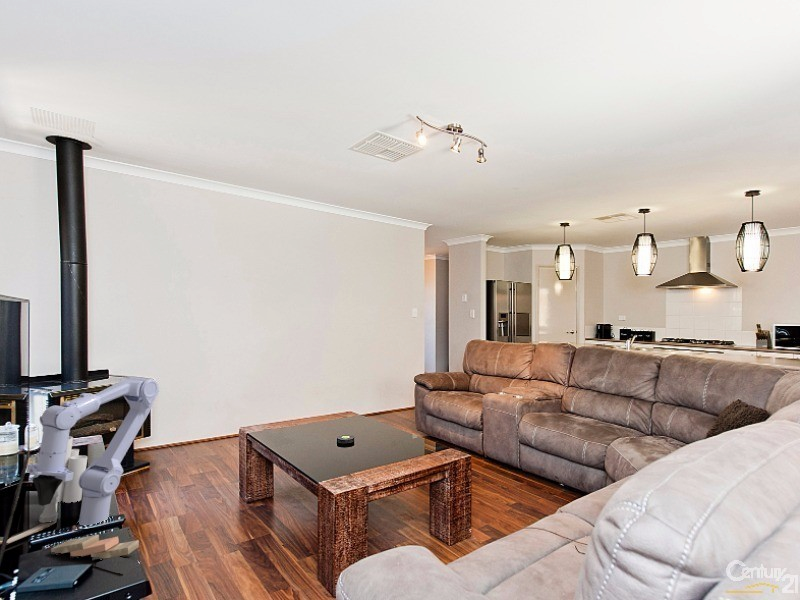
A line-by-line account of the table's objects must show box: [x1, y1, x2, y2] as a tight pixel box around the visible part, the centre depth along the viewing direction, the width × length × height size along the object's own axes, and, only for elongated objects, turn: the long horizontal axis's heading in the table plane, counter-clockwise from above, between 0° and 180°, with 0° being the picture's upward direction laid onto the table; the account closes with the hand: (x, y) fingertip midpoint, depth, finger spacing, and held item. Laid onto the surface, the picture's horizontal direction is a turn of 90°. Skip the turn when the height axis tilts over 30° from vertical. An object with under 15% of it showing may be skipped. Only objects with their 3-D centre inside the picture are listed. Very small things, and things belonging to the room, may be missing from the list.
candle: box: [55, 435, 88, 504], centre depth 148 cm, size 11×7×20 cm, turn 120°
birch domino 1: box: [50, 534, 100, 554], centre depth 116 cm, size 2×5×9 cm
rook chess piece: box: [38, 491, 59, 524], centre depth 133 cm, size 4×4×8 cm
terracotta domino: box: [69, 535, 120, 557], centre depth 115 cm, size 2×5×9 cm
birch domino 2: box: [90, 539, 140, 558], centre depth 115 cm, size 2×5×9 cm
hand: (44, 504), depth 119 cm, fingers closed
